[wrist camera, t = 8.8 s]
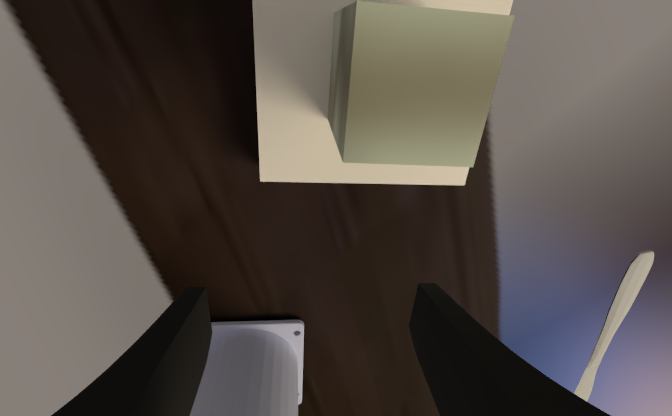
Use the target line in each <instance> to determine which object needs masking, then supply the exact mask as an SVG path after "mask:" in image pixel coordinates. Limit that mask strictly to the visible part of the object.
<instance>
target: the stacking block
mask: <svg viewBox="0 0 672 416" xmlns="http://www.w3.org/2000/svg"><path fill="white" fill-rule="evenodd" d="M514 18H515V16H510V15H500V14H490V13H479V12H469V11H458V10H448V9H438V8H427V7H417V6H406V5H396V4H386V3H375V2H365V1H355V2H354V3H352V4H350V5H348V6H346V7H344V8H342V9H340V10H338V11H337V12H335V13H334V24H333V40H332V56H331V73H330V89H329V105H328V122H329V125H330V127H331V130H332V133H333V136H334V139H335V142H336V145H337V147H338V150H339V153H340V156H341V159H342V162H343V163H366V164H395V165H424V166H453V167H473V166H474V162H475V158H476V155H477V151H478V148H479V144H480V140H481V137H482V133H483V130H484V126H485V122H486V119H487V115H488V111H489V108H490V104H491V101H492V97H493V93H494V90H495V86H496V83H497V79H498V75H499V72H500V68H501V65H502V61H503V57H504V54H505V50H506V46H507V43H508V39H509V35H510V32H511V28H512V25H513V21H514Z"/></svg>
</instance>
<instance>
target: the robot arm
mask: <svg viewBox="0 0 672 416" xmlns="http://www.w3.org/2000/svg"><path fill="white" fill-rule="evenodd" d="M409 328H410V332H411V336H412V341H413V344H414V348H415V352H416V355H417V358H418V360H419V363H420V365H421V368H422V370H423V373H424V376H425V378H426V381H427V383H428V386H429V388H430V391H431V393H432V396H433V398H434V401H435V403H436V406H437V408H438V411H439V413H440V416H610V415H609V414H607V413H605V412H603V411H601V410H600V409H598V408H596V407H595V406H593V405H591V404H590V403H588V402H586V401H585V400H583V399H581V398H580V397H578V396H577V395H575V394H573V393H572V392H570V391H569V390H567V389H565V388H564V387H562V386H561V385H559V384H558V383H556V382H555V381H553V380H552V379H550V378H549V377H547V376H546V375H544V374H543V373H541V372H540V371H539V370H537V369H536V368H534V367H533V366H531V365H530V364H529V363H527V362H526V361H525V360H523V359H522V358H520V357H519V356H518V355H516V354H515V353H514V352H513V351H511V350H510V349H509V348H508V347H506V346H505V345H504V344H503V343H502V342H500V341H499V340H498V339H497V338H495V337H494V336H493V335H492V334H491V333H489V332H488V331H487V330H486V329H485V328H484V327H483V326H481V325H480V324H479V323H478V322H477V321H476V320H475V319H473V318H472V317H471V316H470V315H469V314H468V313H467V312H466V311H465V310H464V309H463V308H461V307H460V306H459V305H458V304H457V303H456V302H455V301H454V300H453V299H452V298H451V297H450V296H449V295H448V294H447V293H445V292H444V291H443V290H442V289H441V288H440V287H439V286H438V285H437V284H435V283H420V284H418V288H417V293H416V297H415V301H414V306H413V310H412V314H411V319H410V323H409ZM295 331H298V332H295ZM303 347H304V323H303V322H302V321H301V320H270V321H237V322H211V319H210V312H209V306H208V299H207V292H206V287H201V288H186V289H184V290H183V291H182V293H181V294H180V295H179V296H178V297H177V298H176V299H175V300H174V301H173V303H172V304H171V305H170V306H169V307H168V308H167V309H166V310H165V311H164V313H163V314H162V315H161V316H160V317H159V318H158V319H157V320H156V321H155V322H154V323H153V324H152V325H151V327H150V328H149V329H148V330H147V331H146V332H145V333H144V334H143V335H142V336H141V337H140V338H139V339H138V340H137V341H136V342H135V343H134V344H133V345H132V346H131V347H130V348H129V349H128V350H127V351H126V352H125V353H124V354H123V355H122V356H121V357H120V358H119V359H118V360H116V361H115V362H114V363H113V364H112V365H111V366H110V367H109V368H108V369H107V370H106V371H105V372H104V373H102V374H101V375H100V376H99V377H98V378H97V379H96V380H94V381H93V382H92V383H91V384H90V385H89V386H88V387H86V388H85V389H84V390H83V391H82V392H80V393H79V394H78V395H77V396H76V397H74V398H73V399H72V400H71V401H69V402H68V403H67V404H66V405H64V406H63V407H62V408H61V409H60V410H58V411H57V412H55V413H54V414H53V415H52V416H298V405H299V404H300V403H301V402H302V382H303Z"/></svg>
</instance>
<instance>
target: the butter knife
mask: <svg viewBox="0 0 672 416" xmlns="http://www.w3.org/2000/svg"><path fill="white" fill-rule="evenodd" d="M653 260H654V252H653V251H650V250H647V251H642V252H640V253H639V254H638V255H637V256H636V257H635V258H634V260H632V262H631V263H630V265H629V267H628V268H627V270H626V272H625V274H624V276H623V279H622V281H621V283H620V285H619V287H618V289H617V292H616V294H615V296H614V298H613V300H612V303H611V305H610V308H609V310H608V313H607V315H606V318H605V321H604V324H603V327H602V330H601V332H600V335H599V338H598V340H597V342H596V345H595V347H594V350H593V352H592V354H591V357H590V359H589V361H588V364H587V367H586V370H585V372H584V374H583V376H582V378H581V380H580V382H579V384H578V386H577V388H576V390H575V393H574V394H575V395H577V396H578V397H580V398H581V399H583V400H585V401H586V402H587V401H588V398H589V396H590V394H591V391H592V388H593V384H594V379H595V375H596V371H597V369H598V366H599V365H600V363H601V360H602V358H603V355H604V353H605V351H606V349H607V347H608V345H609V343H610V341H611V339H612V337H613V335H614V334H615V332H616V330H617V329H618V327H619V325H620V324H621V322H622V321H623V319H624V317H625V316H626V314H627V313H628V311H629V309H630V307H631V305H632V304H633V302H634V300H635V298H636V296H637V294H638V292H639V290H640V288H641V286H642V284H643V283H644V281H645V279H646V277H647V274H648V272H649V270H650V268H651V266H652V263H653Z"/></svg>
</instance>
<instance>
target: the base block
mask: <svg viewBox="0 0 672 416" xmlns="http://www.w3.org/2000/svg"><path fill="white" fill-rule="evenodd" d="M355 1H365V2H375V3H386V4H396V5H406V6H417V7H427V8H438V9H448V10H458V11H469V12H479V13H490V14H500V15H509V14H510V10H511V7H512V3H513V0H252V3H253V27H254V50H255V73H256V97H257V120H258V143H259V166H260V181H263V182H316V183H368V184H421V185H465V182H466V178H467V174H468V170H469V167H453V166H424V165H395V164H366V163H343V162H342V159H341V156H340V153H339V150H338V147H337V145H336V142H335V139H334V136H333V133H332V130H331V127H330V125H329V122H328V105H329V89H330V73H331V56H332V40H333V24H334V13H335V12H337V11H338V10H340V9H342V8H344V7H346V6H348V5H350V4H352V3H354V2H355Z"/></svg>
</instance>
